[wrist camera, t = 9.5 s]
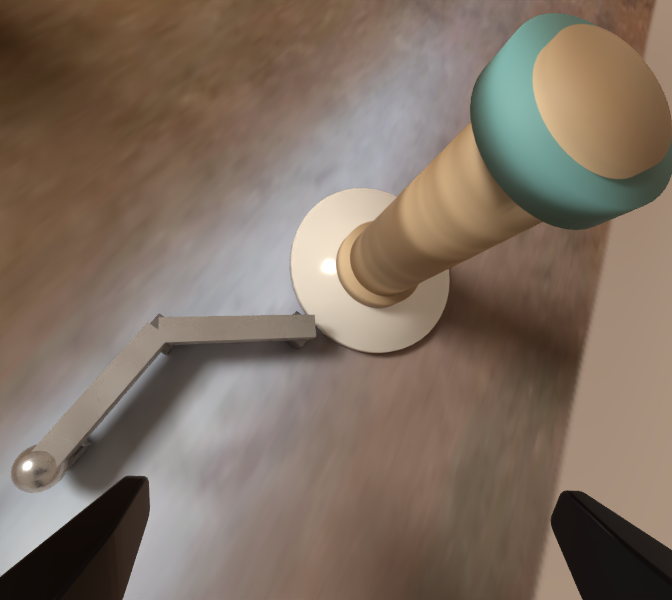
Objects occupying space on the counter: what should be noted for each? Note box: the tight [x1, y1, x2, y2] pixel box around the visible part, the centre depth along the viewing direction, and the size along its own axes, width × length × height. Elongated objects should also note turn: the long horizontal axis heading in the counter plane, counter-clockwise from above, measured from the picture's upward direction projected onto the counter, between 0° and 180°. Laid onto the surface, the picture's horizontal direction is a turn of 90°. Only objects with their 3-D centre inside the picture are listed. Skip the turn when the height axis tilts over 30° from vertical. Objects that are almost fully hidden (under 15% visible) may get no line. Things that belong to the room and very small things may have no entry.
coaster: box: [290, 188, 450, 353], centre depth 21 cm, size 9×9×1 cm
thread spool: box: [336, 13, 672, 308], centre depth 15 cm, size 5×5×13 cm
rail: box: [11, 311, 317, 493], centre depth 16 cm, size 11×6×2 cm, turn 145°
